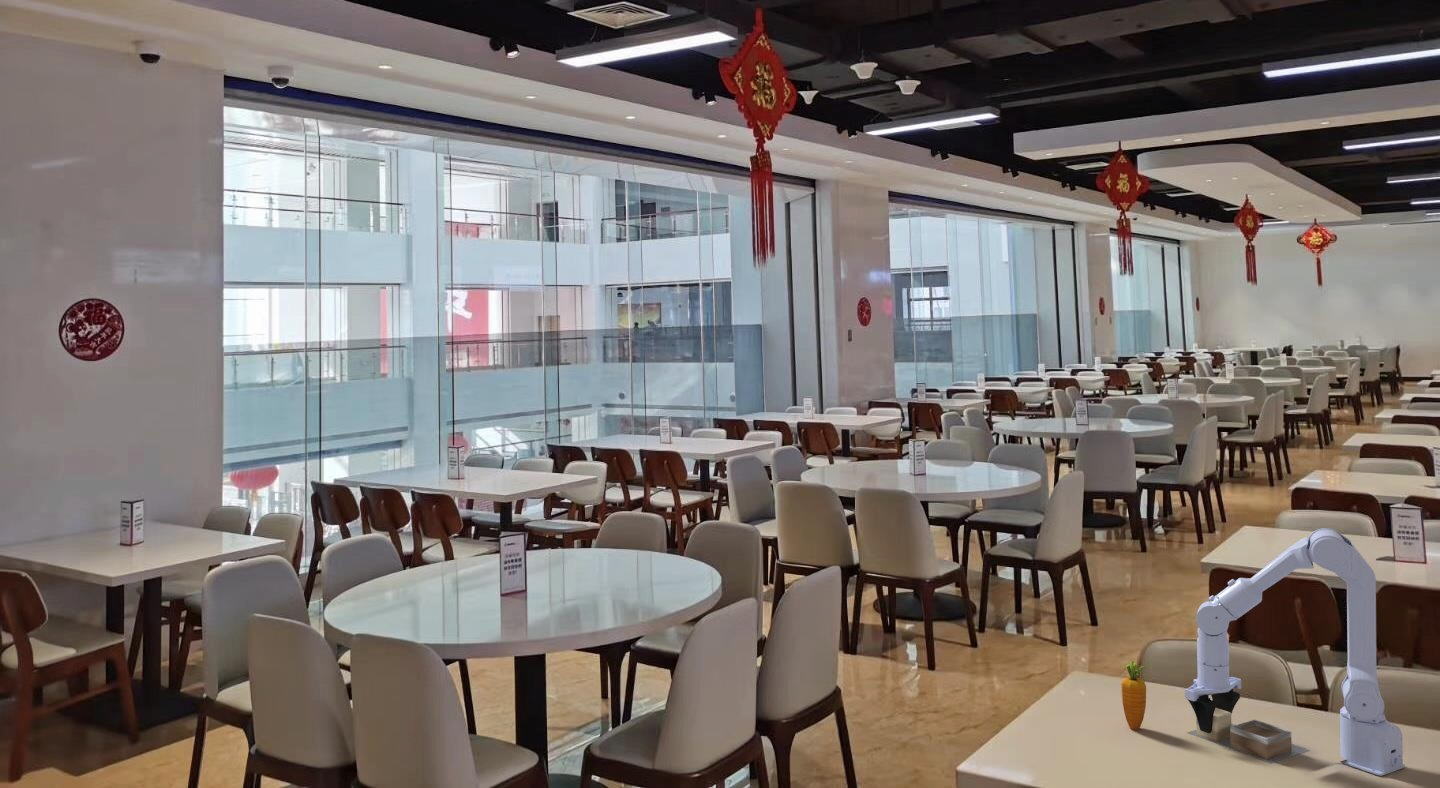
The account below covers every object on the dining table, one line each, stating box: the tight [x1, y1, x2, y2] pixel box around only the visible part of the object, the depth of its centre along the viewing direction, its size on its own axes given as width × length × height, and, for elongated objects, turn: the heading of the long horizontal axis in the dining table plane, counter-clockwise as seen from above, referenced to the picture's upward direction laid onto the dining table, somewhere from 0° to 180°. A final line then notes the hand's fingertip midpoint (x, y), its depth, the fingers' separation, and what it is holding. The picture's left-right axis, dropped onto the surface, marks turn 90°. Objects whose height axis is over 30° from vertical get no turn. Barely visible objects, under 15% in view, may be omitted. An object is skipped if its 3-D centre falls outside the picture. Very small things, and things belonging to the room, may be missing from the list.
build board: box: [1186, 722, 1311, 764], centre depth 197 cm, size 18×12×1 cm, turn 27°
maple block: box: [1196, 708, 1232, 742], centre depth 200 cm, size 4×4×5 cm
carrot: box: [1120, 661, 1147, 731], centre depth 205 cm, size 5×5×15 cm
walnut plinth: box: [1230, 719, 1293, 760], centre depth 192 cm, size 8×8×4 cm
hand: (1214, 729), depth 200 cm, fingers closed on maple block, 4 cm apart
